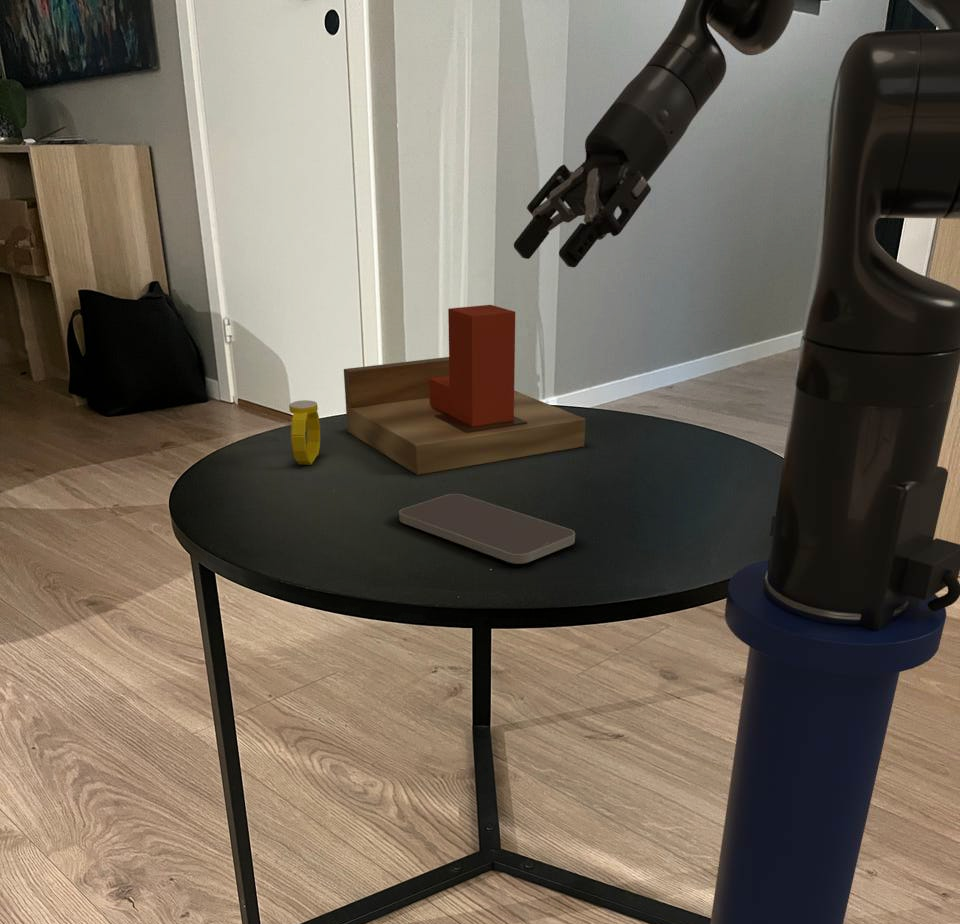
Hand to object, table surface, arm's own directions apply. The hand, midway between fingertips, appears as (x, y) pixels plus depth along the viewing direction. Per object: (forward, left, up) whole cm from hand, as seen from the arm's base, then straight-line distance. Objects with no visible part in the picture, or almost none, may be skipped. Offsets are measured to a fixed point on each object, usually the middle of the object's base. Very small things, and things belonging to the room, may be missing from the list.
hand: (541, 257), depth 100 cm
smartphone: (-17, +24, -19) cm, 35 cm away
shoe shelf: (+6, +6, -19) cm, 20 cm away
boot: (+4, +6, -16) cm, 17 cm away
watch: (+11, +23, -19) cm, 32 cm away
